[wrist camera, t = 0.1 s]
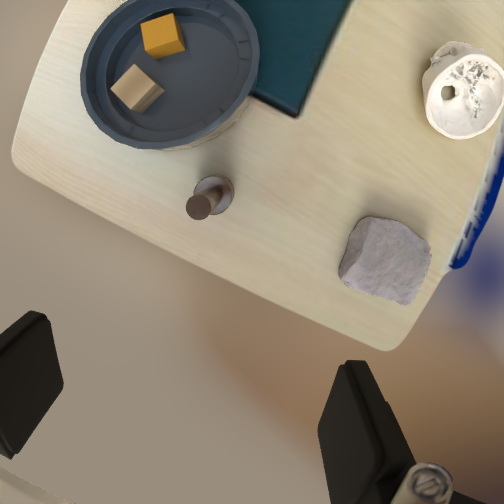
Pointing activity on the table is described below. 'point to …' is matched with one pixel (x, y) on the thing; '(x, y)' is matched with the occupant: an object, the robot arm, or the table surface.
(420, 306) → the table surface
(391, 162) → the table surface
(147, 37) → the mustard block
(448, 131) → the skull bowl
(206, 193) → the pestle
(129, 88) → the cream block
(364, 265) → the stone block
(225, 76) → the bowl
